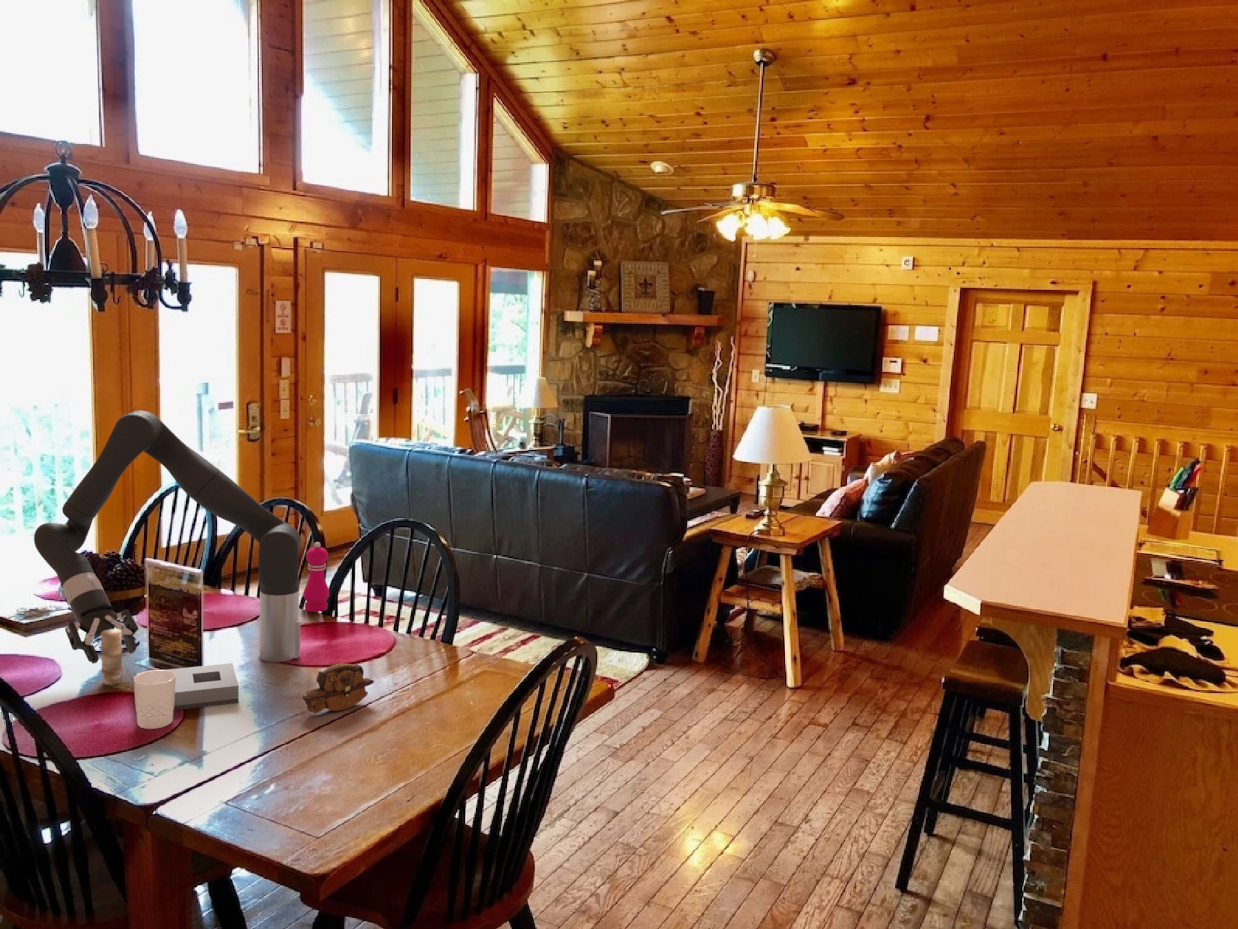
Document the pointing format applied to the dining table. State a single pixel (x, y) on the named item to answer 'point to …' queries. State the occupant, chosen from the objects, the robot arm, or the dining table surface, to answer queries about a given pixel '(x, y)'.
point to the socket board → (205, 686)
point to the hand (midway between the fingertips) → (115, 656)
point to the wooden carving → (337, 688)
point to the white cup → (154, 698)
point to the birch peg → (111, 656)
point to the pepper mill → (316, 580)
